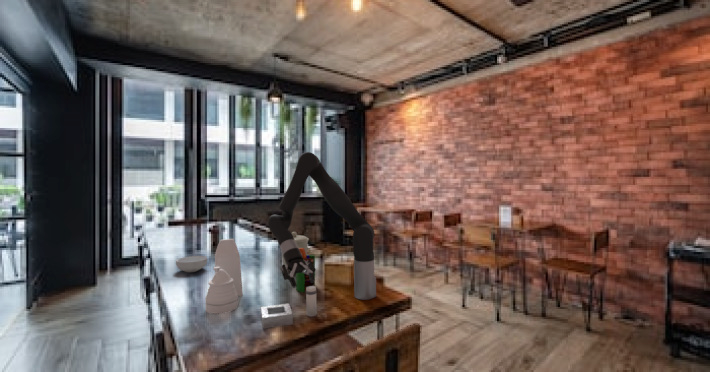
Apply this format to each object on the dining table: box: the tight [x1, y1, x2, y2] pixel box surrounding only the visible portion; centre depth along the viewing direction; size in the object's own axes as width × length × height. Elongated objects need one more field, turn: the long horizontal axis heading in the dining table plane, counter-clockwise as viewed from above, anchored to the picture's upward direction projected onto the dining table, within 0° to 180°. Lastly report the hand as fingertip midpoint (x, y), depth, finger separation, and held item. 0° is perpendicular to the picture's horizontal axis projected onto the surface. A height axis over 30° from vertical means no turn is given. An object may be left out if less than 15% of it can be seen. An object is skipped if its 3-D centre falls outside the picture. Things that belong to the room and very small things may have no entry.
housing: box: [260, 303, 294, 329], centre depth 135 cm, size 11×11×4 cm
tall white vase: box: [214, 238, 244, 297], centre depth 166 cm, size 12×12×26 cm
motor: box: [295, 248, 316, 293], centre depth 171 cm, size 10×9×20 cm
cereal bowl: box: [175, 255, 208, 273], centre depth 206 cm, size 17×17×7 cm
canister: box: [281, 231, 310, 265], centre depth 213 cm, size 18×18×21 cm
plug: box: [305, 285, 317, 318], centre depth 140 cm, size 4×4×11 cm
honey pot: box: [204, 266, 239, 315], centre depth 148 cm, size 13×13×18 cm
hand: (304, 284), depth 144 cm, fingers open, 8 cm apart
